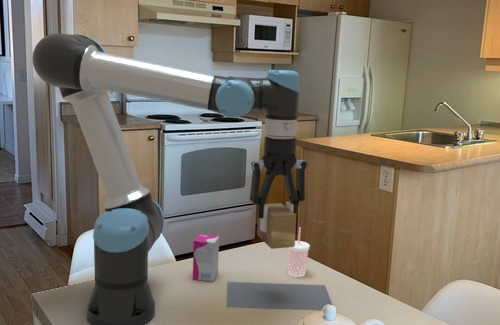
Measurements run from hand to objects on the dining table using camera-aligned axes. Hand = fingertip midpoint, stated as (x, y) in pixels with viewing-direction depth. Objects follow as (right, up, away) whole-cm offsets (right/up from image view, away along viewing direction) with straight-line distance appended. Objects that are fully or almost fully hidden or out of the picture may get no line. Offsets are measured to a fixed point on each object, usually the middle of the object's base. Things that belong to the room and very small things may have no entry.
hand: (275, 229), depth 128 cm
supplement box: (-18, -15, +13) cm, 27 cm away
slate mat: (+1, -18, +4) cm, 18 cm away
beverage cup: (+7, -15, +18) cm, 24 cm away
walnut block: (0, -3, +1) cm, 3 cm away
